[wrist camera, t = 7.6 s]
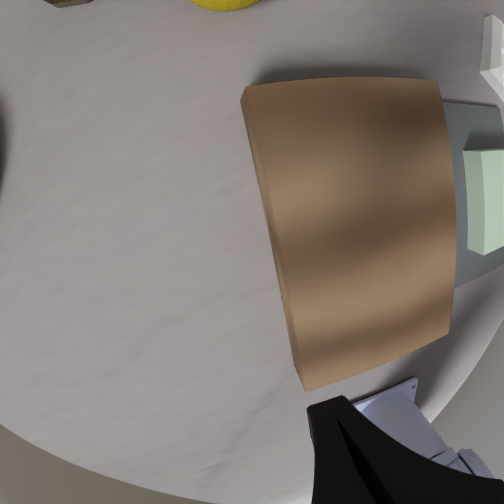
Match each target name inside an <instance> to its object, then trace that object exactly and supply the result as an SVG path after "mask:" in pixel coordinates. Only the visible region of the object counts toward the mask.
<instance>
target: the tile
mask: <svg viewBox="0 0 504 504" xmlns="http://www.w3.org/2000/svg"><path fill="white" fill-rule="evenodd" d="M463 157H464V166H465V176H466V189H467V210H468V246H467V249H469V250H472V251H474V252H477V253H479V254H481V255H486V254H488V253H490V252H492V251H494V250H496V249H498V248H500V247H503V246H504V149H501V148H499V149H482V150H468V151H463Z"/></svg>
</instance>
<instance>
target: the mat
mask: <svg viewBox="0 0 504 504" xmlns="http://www.w3.org/2000/svg"><path fill="white" fill-rule="evenodd" d="M442 104H443V109H444V114H445V119H446V124H447V129H448V135H449V142H450V148H451V156H452V164H453V173H454V184H455V199H456V269H455V283H454V288H456V287H458V286H460V285H462V284H464V283H466V282H468V281H471V280H473V279H475V278H477V277H479V276H481V275H483V274H484V273H486V272H488V271H490V270H492V269H494V268H496V267H498V266H500V265H502V264H503V263H504V246H503V247H500V248H498V249H496V250H494V251H492V252H490V253H488V254H486V255H481V254H479V253H477V252H474V251H472V250H469V249H467V246H468V210H467V189H466V176H465V166H464V157H463V151H468V150H482V149H499V148H501V149H504V131H503V124H502V119H501V113H500V108H495V107H488V106H480V105H471V104H461V103H448V102H442Z"/></svg>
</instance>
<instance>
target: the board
mask: <svg viewBox="0 0 504 504" xmlns="http://www.w3.org/2000/svg"><path fill="white" fill-rule="evenodd" d="M240 103H241V107H242V111H243V116H244V120H245V125H246V129H247V133H248V138H249V142H250V147H251V151H252V156H253V161H254V165H255V170H256V174H257V179H258V184H259V188H260V193H261V198H262V202H263V207H264V212H265V217H266V222H267V226H268V231H269V236H270V241H271V246H272V251H273V256H274V261H275V266H276V271H277V276H278V281H279V286H280V291H281V297H282V302H283V307H284V312H285V317H286V323H287V328H288V333H289V339H290V344H291V350H292V355H293V361H294V366H295V368H296V371H297V373H298V375H299V378H300V380H301V383H302V385H303V387H304V390H305V392H307V391H310V390H313V389H316V388H320V387H323V386H326V385H329V384H332V383H335V382H338V381H341V380H343V379H346V378H349V377H352V376H355V375H357V374H360V373H363V372H365V371H368V370H370V369H373V368H375V367H378V366H380V365H383V364H385V363H387V362H390V361H392V360H394V359H397V358H399V357H401V356H404V355H406V354H408V353H410V352H412V351H414V350H417V349H419V348H421V347H423V346H425V345H427V344H429V343H431V342H433V341H435V340H437V339H439V338H441V337H443V336H445V335H447V334H448V333H449V327H450V320H451V312H452V304H453V295H454V283H455V269H456V199H455V184H454V173H453V164H452V156H451V148H450V142H449V135H448V129H447V124H446V119H445V114H444V109H443V104H442V100H441V95H440V91H439V87H438V83H437V81H434V80H424V79H412V78H396V77H333V78H316V79H303V80H293V81H283V82H275V83H268V84H260V85H254V86H248V87H245V90H244V92H243V95H242V97H241V100H240Z"/></svg>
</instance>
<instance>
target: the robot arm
mask: <svg viewBox="0 0 504 504" xmlns="http://www.w3.org/2000/svg"><path fill="white" fill-rule="evenodd" d="M417 385H418V379H417V378H416V377H414V378H411V379H409V380H407V381H405V382H403V383H401V384H399V385H397V386H394V387H392V388H390V389H388V390H385V391H383V392H381V393H378V394H376V395H374V396H371V397H369V398H366V399H364V400H361V401H359V402H356V403H353V404H352V403H351V402H350V401H349V400H348V399H347V398H346V397H345V396H343V395H341V396H338V397H335V398H332V399H329V400H326V401H323V402H320V403H317V404H313V405H310V406H309V407H308V408H307V415H308V422H309V429H310V435H311V439H312V442H313V446H314V452H315V469H314V487H313V496H312V503H311V504H504V482H503V480H501V479H495V478H494V476H493V474H492V473H491V472H490V470H489V469H488V467H487V466H486V465H485V463H484V462H483V461H482V460H481V458H480V457H479V456H478V455H477V454H476V453H475V452H474V451H473V450H471V449H460V450H459V451H458V452H457V454H458V455H457V454H456V453H455V452H454V450H453V449H452V448H449V447H448V446H447V445H446V444H445V442H444V441H443V440H442V438H441V437H440V436H439V434H438V433H437V432H436V430H435V429H434V428H433V427H432V425H431V424H430V423H429V421H428V420H427V419H426V418H425V416H424V415H423V414H422V412H421V411H420V410H419V409H418V407H417V406H416V405H415V404H414V399H415V395H416V390H417ZM458 456H459V457H458Z"/></svg>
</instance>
